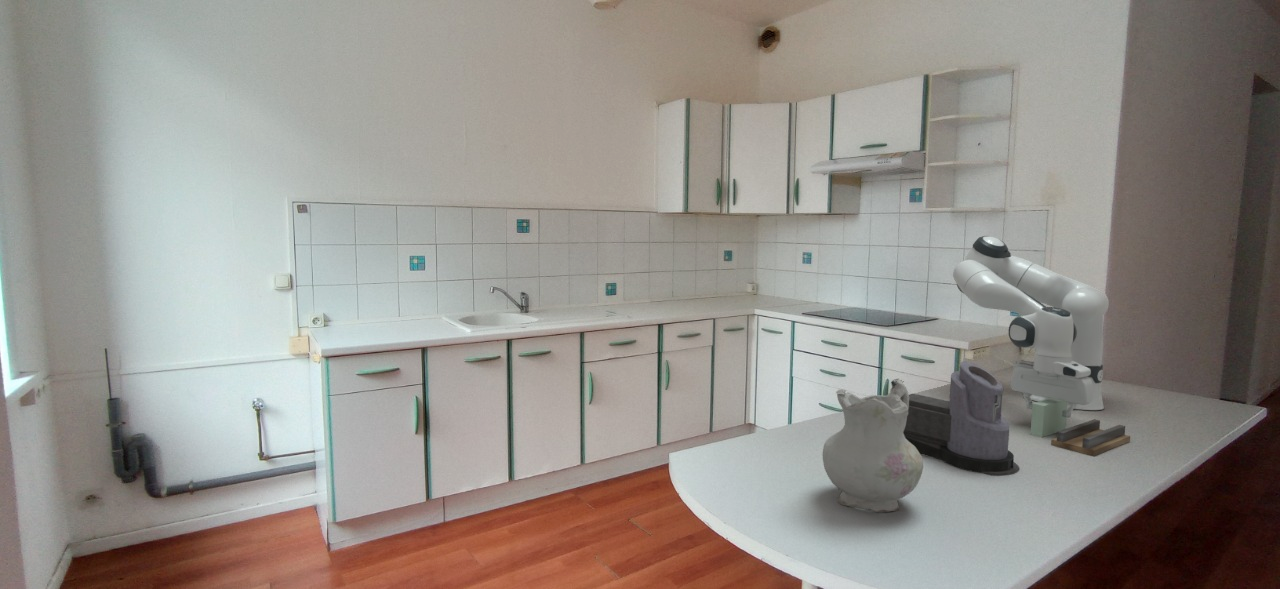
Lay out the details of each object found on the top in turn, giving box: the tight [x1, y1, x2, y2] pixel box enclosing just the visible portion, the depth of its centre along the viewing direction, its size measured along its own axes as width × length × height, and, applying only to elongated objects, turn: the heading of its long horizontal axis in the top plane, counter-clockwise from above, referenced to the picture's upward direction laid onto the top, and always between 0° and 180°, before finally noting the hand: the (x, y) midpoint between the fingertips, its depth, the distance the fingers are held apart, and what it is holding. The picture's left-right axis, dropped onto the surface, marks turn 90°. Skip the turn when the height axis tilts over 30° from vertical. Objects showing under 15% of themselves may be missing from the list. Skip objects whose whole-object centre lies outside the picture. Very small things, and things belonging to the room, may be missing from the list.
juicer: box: [903, 360, 1020, 477], centre depth 158 cm, size 30×16×24 cm, turn 39°
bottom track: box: [1050, 418, 1131, 457], centre depth 169 cm, size 10×22×4 cm, turn 123°
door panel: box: [1030, 398, 1068, 438], centre depth 179 cm, size 3×14×9 cm, turn 123°
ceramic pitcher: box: [822, 378, 924, 513], centre depth 131 cm, size 22×20×25 cm
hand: (1048, 412), depth 179 cm, fingers open, 8 cm apart
